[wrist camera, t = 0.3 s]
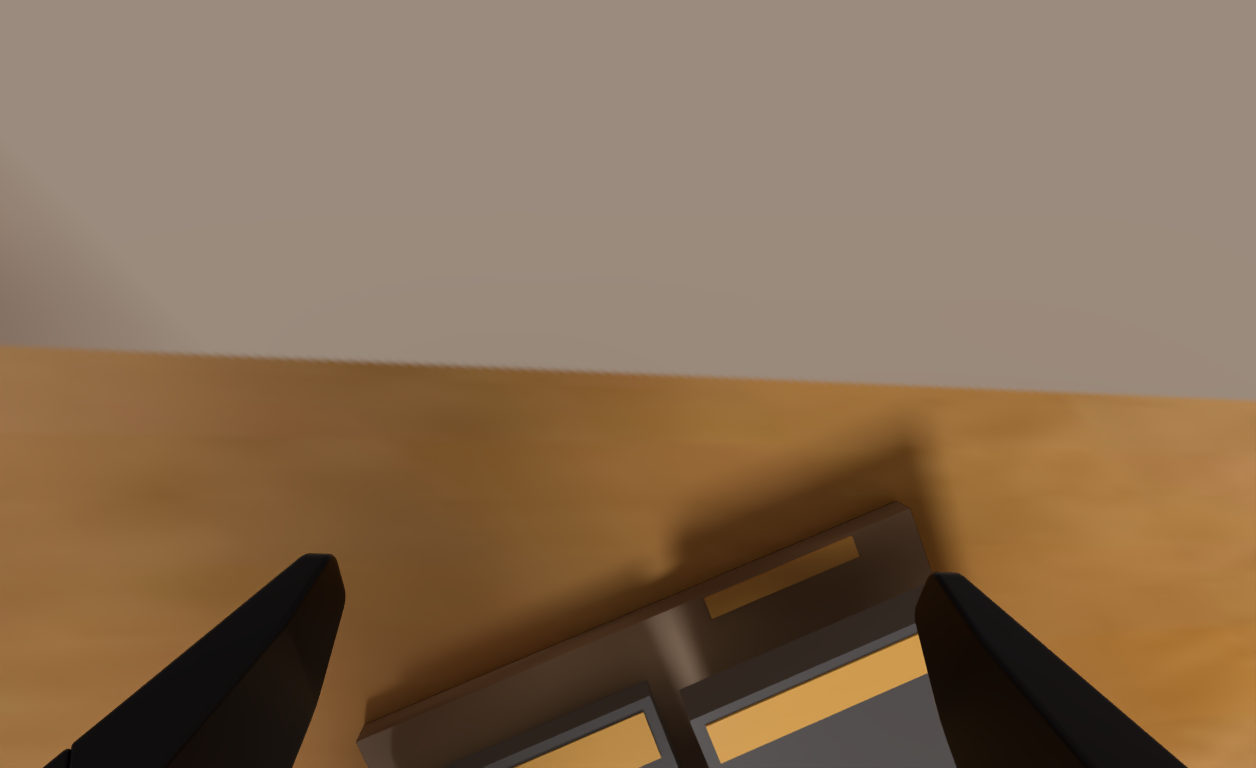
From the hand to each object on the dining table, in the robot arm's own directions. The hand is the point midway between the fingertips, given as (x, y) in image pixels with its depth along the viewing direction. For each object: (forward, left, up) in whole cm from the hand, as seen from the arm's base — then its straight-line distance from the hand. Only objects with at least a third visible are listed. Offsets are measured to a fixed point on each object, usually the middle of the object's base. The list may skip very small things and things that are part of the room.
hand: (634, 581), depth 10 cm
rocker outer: (-14, -5, -11) cm, 18 cm away
